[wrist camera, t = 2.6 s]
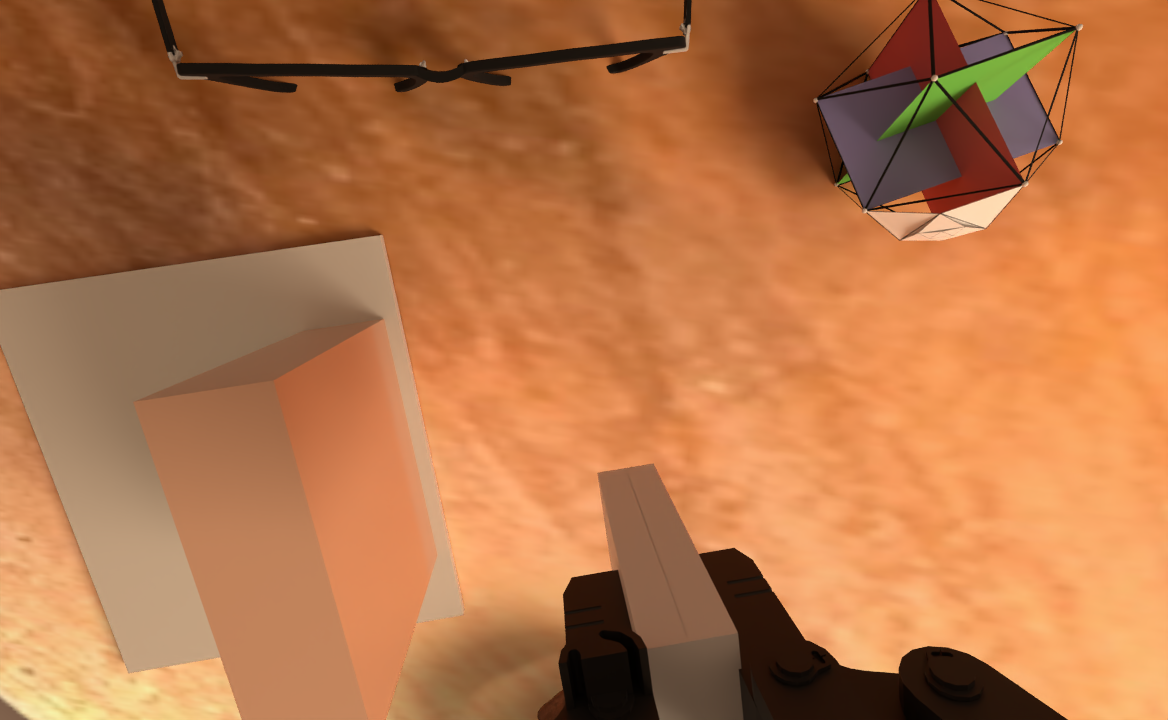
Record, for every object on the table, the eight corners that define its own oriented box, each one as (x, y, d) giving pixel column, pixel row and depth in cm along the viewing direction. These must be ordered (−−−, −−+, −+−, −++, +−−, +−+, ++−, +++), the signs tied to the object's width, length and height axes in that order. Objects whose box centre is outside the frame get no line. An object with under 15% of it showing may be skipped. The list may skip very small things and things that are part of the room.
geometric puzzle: (785, -4, 18) (948, 105, 13) (985, -74, 18) (1225, 8, 13) (775, 182, 24) (887, 309, 19) (928, 128, 24) (1082, 240, 19)
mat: (-10, 291, 20) (-21, 292, 20) (382, 235, 21) (379, 235, 20) (135, 665, 24) (128, 673, 23) (464, 609, 24) (463, 615, 24)
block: (302, 330, 21) (130, 402, 12) (384, 318, 21) (273, 380, 12) (363, 567, 23) (257, 770, 14) (437, 554, 23) (376, 748, 15)
